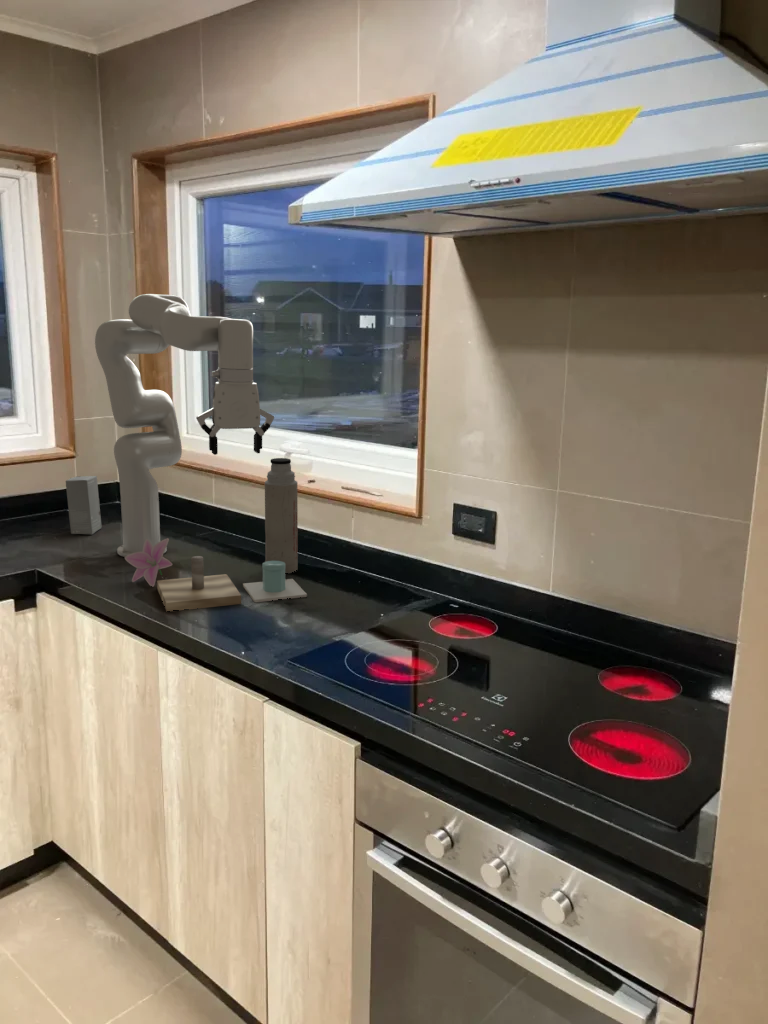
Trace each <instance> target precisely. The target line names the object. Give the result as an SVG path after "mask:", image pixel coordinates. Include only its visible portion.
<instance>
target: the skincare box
mask: <svg viewBox="0 0 768 1024" xmlns="http://www.w3.org/2000/svg"><path fill="white" fill-rule="evenodd" d="M65 487H66V489H65V490H66V497H67V507H68V518H69V525H70V528H69V529H70V534H71V535H94V534H95V533H96V532H98V531H99V530H100V529H102V518H101V516H102V515H101V509H100V507H101V506H100V496H99V486H98V476H97V475H85V476H84V475H83V476H81V475H80V476H78V475H77V476H73V477H70V478H68V479H67V480H65Z"/></svg>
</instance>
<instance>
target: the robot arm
mask: <svg viewBox="0 0 768 1024" xmlns="http://www.w3.org/2000/svg"><path fill="white" fill-rule="evenodd" d="M128 315H129V316H128V317H129V318H130V319H125V318H124V319H123V318H122V319H111V320H107V321H105V322H103V323H102V324H100V325H99V326H98V328H97V329H96V332H95V335H94V336H95V337H94V342H95V343H94V345H95V352H96V357H97V359H98V362H99V363H100V366H101V368H102V371H103V374H104V376H105V380H106V386H107V391H108V397H109V401H110V406H111V411H112V416H113V418H114V422H115V423H116V425H117V426H118V427H120V428H123V429H137V428H149V427H151V428H152V431H144V432H143V431H141V432H133V433H128V434H124V435H122V436H120V437H118V439H117V440H116V441H115V444H114V446H113V454H114V459H115V464H116V467H117V474H118V480H119V493H120V506H121V507H120V509H121V510H120V511H121V513H120V514H121V529H122V530H121V531H122V545H120V546H118V547H117V549H116V551H117V555H119V556H120V557H124V558H125V557H126V556H127V555H129V554H132V553H136V552H142V551H143V546H144V542H145V540H146V539H148V540H149V541H150V542H151V544H152V546H154V545H155V544H157V543H158V542H160V541H161V528H160V527H161V524H160V501H159V500H160V499H159V498H160V497H159V486H158V483H157V480H156V479H155V477H154V476H153V475H152V474H151V472H150V470H153V469H158V468H164V467H170V466H174V465H176V464H177V463H178V462H180V460H181V458H182V453H183V451H182V450H183V449H182V441H181V434H180V429H179V425H178V419H177V413H176V409H175V405H174V401H173V400H172V398H171V397H170V395H169V394H168V393H167V392H165V391H163V390H160V389H145V388H144V386H143V382H142V377H141V373H140V371H139V369H138V367H137V366H136V365H135V364H134V362H133V361H132V360H131V359H130V358H129V357H128V356H127V355H128V354H129V355H143V354H144V355H147V354H151V355H152V354H154V355H155V354H159V353H162V352H163V351H165V350H167V349H168V348H169V346H172V347H174V348H177V349H180V350H182V351H187V352H188V351H189V352H218V355H217V360H218V361H217V363H218V365H217V366H218V367H217V369H216V370H212V371H211V377H212V378H216V379H217V380H218V381H216V382H215V383H214V389H213V396H212V408H210V409H208V410H206V411H204V412H202V413H200V414H198V415H196V416H195V417H196V421H197V422H198V424H199V426H200V428H201V429H202V430H203V431H204V432H205V433H206V434H207V435H208V449H209V451H211V453H212V455H214V456H215V455H218V436H217V433H218V432H219V431H220V429H222V430H237V429H239V430H243V429H247V430H248V429H253V431H254V432H255V433H254V435H253V452H254V453H256V454H260V453H261V450H263V436H264V435H265V433H266V432H267V431H268V430H269V429H270V428H271V425H272V423H273V422H274V419H275V416H274V414H271V413H269V412H267V411H265V410H263V409H262V408H260V397H259V395H260V394H259V388H258V384H257V382H254V326H253V323H252V321H250V320H248V319H240V318H230V317H226V316H206V315H205V316H204V315H203V316H202V315H201V316H200V315H199V316H198V315H197V316H196V315H191V312H190V309H189V306H188V304H187V302H186V301H185V300H184V299H183V298H182V297H181V296H178V295H174V294H156V293H146V294H145V293H144V294H140V295H138V296H136V297H134V298H133V299H132V300H131V301H130V303H129V305H128ZM210 417H211V422H212V425H211V426H210V427H209V426H208V425H207V422H206V419H209V418H210ZM261 417H263V418H265V420H264V423H262V424H261ZM167 546H168V545H167ZM167 546H166V549H165V551H164V554H165V553H166V552H167V550H168V549H167V548H168V547H167Z"/></svg>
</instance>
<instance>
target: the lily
mask: <svg viewBox="0 0 768 1024" xmlns="http://www.w3.org/2000/svg"><path fill="white" fill-rule="evenodd" d="M169 541H170V539H169V538H168V537H167V538H164V539H162V540H160V542H158V543H157V544H155V545H154V546H152V544H151V542H150V541H149V540H148V539H146V540H145V542H144V546H143V551H142V552H136V553H132V554H129V555H127V556H126V557H124V560H125V561H126V562H127V563H128V564H130V565H131V566H133V567H134V568H135V571H134V573H133V576H132V579H131V582H132V583H135V582H136V581H138V580H140V579H141V578H144V580H145V581H146V582H147V583H148V585H149V586H150V587H151V586H152V588H153V587H155V585H156V582H157V575H158V572H159V574H160V576H163V573H162V571H161V569H166V568H169V567H172V566H173V563H172V562H171V560H169V559H168V558H166V557H164V554H165V553H164V551H165V549H166V546H168V544H169Z"/></svg>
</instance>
